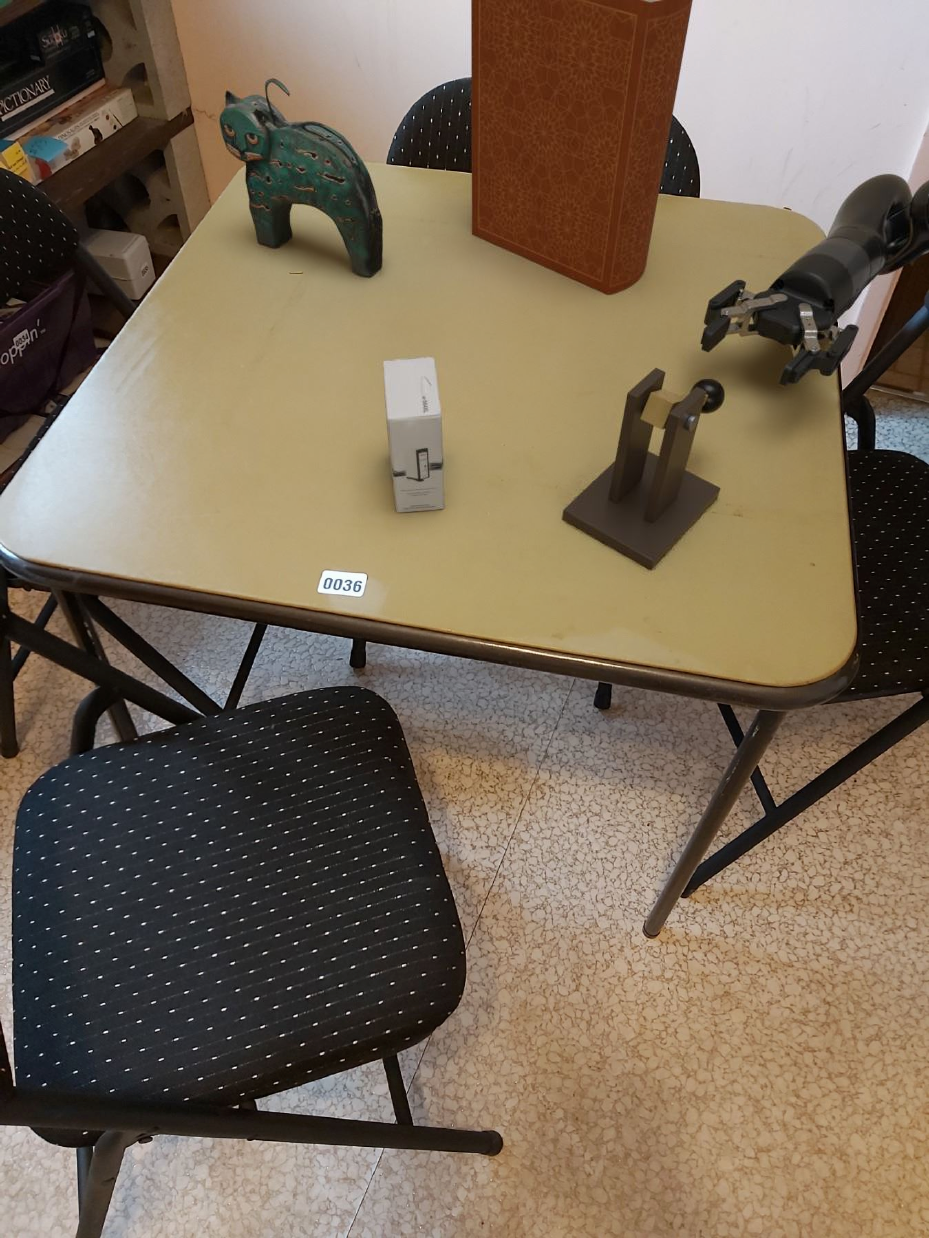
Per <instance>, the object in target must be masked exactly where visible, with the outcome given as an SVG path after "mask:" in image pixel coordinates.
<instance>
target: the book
mask: <svg viewBox="0 0 929 1238" xmlns="http://www.w3.org/2000/svg"><path fill="white" fill-rule="evenodd" d="M693 2H694V0H470V8H471V9H470V11H471V12H470V14H471V15H470V17H471V18H470V20H471V22H470V23H471V24H470V25H471V26H470V33H471V36H470V40H471V43H470V44H471V47H470V49H471V50H470V51H471V56H470V58H471V59H470V60H471V64H470V65H471V66H470V67H471V75H470V76H471V235H473V236H475V237H477V238H479V239H482V240H484V241H486V242H489V243H491V244H493V245H495V246H498V247H499V248H502V249H504V250H507V251H509V252H511V253H513V254H515V255H517V256H520V257H522V258H525V259H527V260H528V261H531V262H534V263H536V264H538V265H540V266H543V267H545V268H547V269H550V270H551V271H554V272H556V273H558V274H561V275H563V276H565V277H567V278H569V279H571V280H573V281H576V282H578V283H581V284H583V285H585V286H587V287H590V288H592V289H594V290H595V291H596V290H597V291H599V292H601V293H603V294H606V295H608V296H610V295H613V294H616V293H620V292H622V291H624V290H627V289H628V288H631V287H632V286H633V285H635V284H636V283H637V282H638V281H639V280H640V279H641V278H642V277H643V275H644V273H645V270H646V267H647V261H648V256H649V250H650V246H651V238H652V234H653V227H654V222H655V221H654V220H655V217H656V211H657V204H658V199H659V193H660V187H661V184H662V183H661V182H662V176H663V171H664V165H665V160H666V156H667V155H666V154H667V148H668V142H669V137H670V131H671V126H672V120H673V116H674V115H673V114H674V109H675V102H676V98H677V97H676V96H677V91H678V87H679V81H680V75H681V69H682V63H683V58H684V51H685V46H686V41H687V35H688V30H689V24H690V18H691V12H692V7H693Z"/></svg>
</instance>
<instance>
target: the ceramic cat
mask: <svg viewBox="0 0 929 1238" xmlns="http://www.w3.org/2000/svg"><path fill="white" fill-rule="evenodd" d="M271 83H273V84H274V85H276V86H277V87H279V89H281V90H282V92H284V93H285V94H286V95H287V96H288V97H290V95H291V94H290V91H289V90H288V88H287V87H286V85H284V83H282V82H281V80H278V79H276V78H269V79H267V80H266V81H265V84H264V91H265V92H264V93H265V97H264V96H262V95H260V94H251V95H248V96H245V97H243V98H240V97H238V96H237V95H235V94H234V93H233V92H232V91H230V90H229V89H228V90H227V89H226V90H225V95H224V97H225V99H224V100H225V101H224V103H225V107H224V109H223V110H222V112H221V113H220V115H219V127H220V131H221V135H222V139H223V141H224V144H225V148H226V150H227V151H228V152H229V154H231V155H232V156H233V157H234V158H236V159H237V160H239V161H241V162H244V163H245V178H244V180H245V185H246V190H247V195H248V209H249V212H250V215H251V219H252V222H253V226H254V230H255V236H256V240H257V244H260V245H263V246H265V247H268V248H271V249H276V248H279V247H281V246H283V245H284V244H286V243H288V241H289V240H291V239H293V236H294V233H293V228H292V224H291V211H292V207H293V205H304V206H308V207H312V208H314V209H317V210H319V211H320V212H322V213H323V214H325V215H326V216H327V217H329V218H330V219H331V220H332V222H333V223H334V224H335V227H336V228H337V230H338V233H339V235H340V236H341V238H342V241H343V244H344V247H345V250H346V252H347V255H348V258H349V261H350V265H351V269H352V272H353V273H354V274H356V275H357V276H362V277H367V278H371V277H372V276H374V275H375V274H376V273H377V272H378V271H379V270H380V269H381V268H383V250H384V249H383V248H384V238H383V235H384V221H383V220H384V219H383V216H382V213H381V210H380V207H379V202H378V198H377V194H376V190H375V187H374V184H373V180H372V177H371V175H370V173H369V170H368V168H367V166H366V165H365V162H364V161H363V160H362V158H361V157H360V155H359V154H358V153H357V152H356V150H355V148H354V147H353V146H352V145H351V143H350V142H349V140H348V139H347V138H346V137H345V136H344V135H343V134H341V133H340V132H338V131H337V130H336V129H334V128H332V127H330V126H328V125H326V124H324V123H322V122H318V121H315V120H313V121H312V120H311V121H288V120H287V119H286V118H285V117H284V115H283V113H282V112H281V111H280V110H279V109H278V107H276V105H275V104H274V103H272V101H271V100H270V99H269V95H268V87H269V85H270V84H271Z"/></svg>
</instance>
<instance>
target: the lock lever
mask: <svg viewBox="0 0 929 1238" xmlns="http://www.w3.org/2000/svg"><path fill="white" fill-rule="evenodd" d="M696 387H699V388H701V389H703V390H705V391H707V392H706V396H705V399H704V403H703V407H702V410H701V414H704V415H709V414H713V413H714V412H716V411H718V410H720V408H721V407H722V405H723V403H724V402H725V397H726V392H725V389H724V387H723V385H722V384H721V383H720V381H718V380H716V379H714V378H709V377H707V378H703V379H700V380H698V381H697V382H695V383H694V384H693V386H692V387H691V388H690V391H689V392H688V393H684V394H682V395H678V394H676V393H674V392H672V391H670V390H668V389H665V388H662V390H659V391H655V392H651V393H650V396H649V398H648V401H647V403H646V406H645V408H644V411H643V413H642V416H641V418H640V419H641V420H643V421H645V422H647V423H650V424H652V425H654V427H656V428H657V429H659V430H661V431H662V430H665V428H666V424H667V420H668V415H669V413H670V412H671V411H672V410H673V409H674V408H675V407H676V406H677V405H678V404H679V403H680V402H681V401H682V400H683V399H684V398H685V397H686V396H687V395H689V394H690V393H691V392H692V391H693V390H694V389H695V388H696Z"/></svg>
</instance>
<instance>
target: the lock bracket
mask: <svg viewBox="0 0 929 1238" xmlns="http://www.w3.org/2000/svg"><path fill="white" fill-rule="evenodd" d="M665 376H666V371H664V370H662V369H660V368H658V367H654V369H652V370H651V371H650V372H649V373H648V374H647V375H646V376H644V377H643V378H642V379H641V380H640V381H639V382H638V383H637V384H636V385H634V387H632V388H631V389H630V390H629V391H628V392H627V394H626V400H625V405H624V409H623V415H622V421H621V427H620V432H619V437H618V438H619V439H618V443H617V448H616V455H615V460H614V461H613V462H612V463H611V464H610V465H609V466H608V467H607V468H606V469H605V470H603V471H602V472H601V473H600V475H598V476H597V477H596V478H595V479H594V480H593V481H592V482H591V483H590V484H589V485H587V487H586V488H585V489H583V490H582V491H581V492H580V493H579V494H578V495H577V496H576V497H575V498H574V499H573V500H571V502H570V503H568V504H567V506H565V507H564V509H563V510H562V517H561V519H562V520H563V521H565V522H566V523H569V524H570V525H571V526H574V527H575V528H577V529H579V530H580V531H582V532H584V533H586V534H587V535H589V536H591V537H593V538H595V539H596V540H598V541H600V542H601V543H603V544H604V545H607V546H609V547H610V548H611V549H614V550H615V551H617V552H618V553H620V554H622V555H624V556H626V557H627V558H629V559H631V560H633V561H634V562H636V563H638V564H639V565H641V566H643V567H644V568H647V569H648V570H650V571H651V570H653V569H654V568H655V566H656V565H658V564H659V562H660V561H661V560H662V559H663V558H664V557H665V555H666V554H667V553H668V552H669V551H670V550H671V549H672V548H673V547H674V546H675V545H676V543H678V542H679V540H680V539H681V538H682V537H683V536H684V535H685V534H686V533H687V531H688V530H689V529H690V528H691V527H692V526H693V525H694V524H695V523H696V522H697V520H699V518H700V517H702V515H703V514H704V513H705V512H706V511H707V510H708V509H709V508H710V506H711V505H712V504H713V503H714V502H715V501H716V500H717V499H718V498H719V495H720V492H721V487H719V486H718V485H716V484H714V483H711V482H710V481H708V480H706V479H704V478H702V477H700V476H698V475H697V474H694V473H692V472H690V471H688V470H686V469H687V464H688V462H689V458H690V455H691V450H692V446H693V443H694V440H695V436H696V432H697V429H698V425H699V421H700V417H701V415H702V413H701V410H702V407H703V403H704V399H705V396H706V392H707V391H705V390H703V389H701V388H699V387H696V388H695V389H694V390H693V391H692V392H691V393H690V392H689V393H690V394H689V395H687V396H686V397H685V398H684V399H683V400H682V401H681V402H680V403H679V404H678V405H677V406H676V407H675V408H674V409H673V410H672V411H671V412H670V413H669V415H668V420H667V424H666V428H665V429H664V433H663V436H662V441H661V444H660V445H661V446H660V449H659V454H658V455H657V454H656V453H652V451H649V450H650V449H649V448H650V444H651V439H652V435H653V431H654V427H655V426H654V425H652V424H650V423H647V422H645V421H643V420H641V419H640V418H641V416H642V413H643V411H644V408H645V406H646V403H647V401H648V398H649V396H650V393H651V392H655V391H659V390H663V386H664V382H665Z"/></svg>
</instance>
